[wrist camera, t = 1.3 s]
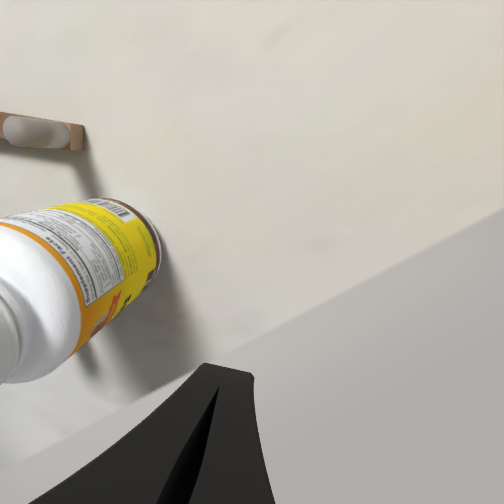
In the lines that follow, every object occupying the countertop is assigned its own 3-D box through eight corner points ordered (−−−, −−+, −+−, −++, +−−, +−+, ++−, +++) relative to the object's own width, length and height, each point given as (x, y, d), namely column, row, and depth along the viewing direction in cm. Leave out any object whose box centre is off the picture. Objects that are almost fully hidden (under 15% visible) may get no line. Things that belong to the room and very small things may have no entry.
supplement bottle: (97, 304, 19) (-103, 454, 10) (52, 215, 18) (-228, 284, 9) (182, 278, 18) (50, 418, 9) (140, 180, 17) (-71, 214, 7)
